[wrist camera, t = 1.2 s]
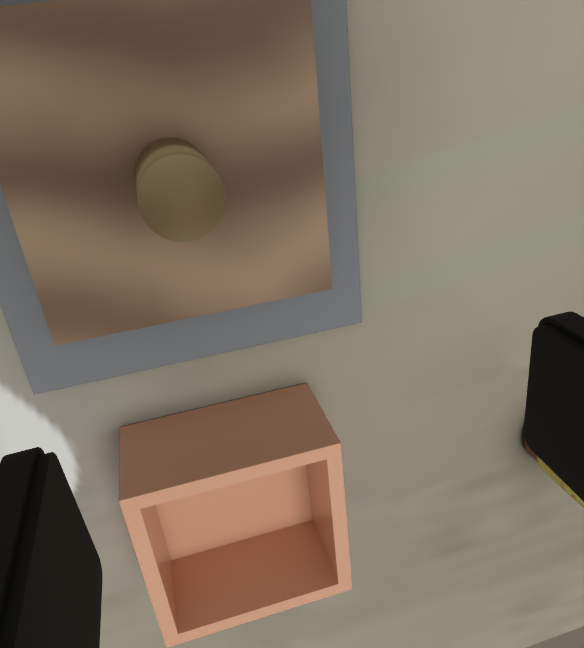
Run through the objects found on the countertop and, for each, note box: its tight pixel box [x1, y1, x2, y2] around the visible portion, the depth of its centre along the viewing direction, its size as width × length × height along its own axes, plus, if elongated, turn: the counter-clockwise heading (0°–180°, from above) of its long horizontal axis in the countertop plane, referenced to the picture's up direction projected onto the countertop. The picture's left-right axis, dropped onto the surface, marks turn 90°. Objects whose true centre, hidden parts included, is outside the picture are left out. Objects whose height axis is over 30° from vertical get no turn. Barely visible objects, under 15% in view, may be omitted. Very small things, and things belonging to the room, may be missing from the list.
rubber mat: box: [0, 0, 362, 394], centre depth 26 cm, size 20×18×1 cm
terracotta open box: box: [119, 383, 352, 648], centre depth 32 cm, size 11×11×6 cm
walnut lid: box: [0, 0, 332, 346], centre depth 23 cm, size 14×14×6 cm
